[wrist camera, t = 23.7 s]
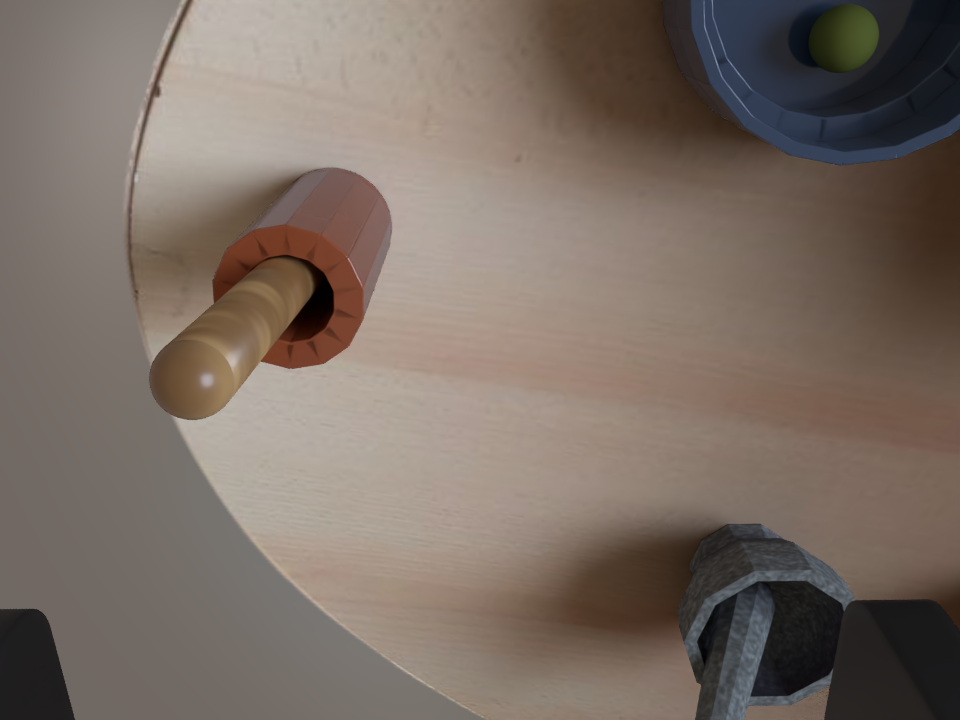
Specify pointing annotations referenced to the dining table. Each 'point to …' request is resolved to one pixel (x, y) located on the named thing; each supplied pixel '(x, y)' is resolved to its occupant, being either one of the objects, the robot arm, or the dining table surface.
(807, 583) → the mortar and pestle
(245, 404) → the dining table surface
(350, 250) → the crock
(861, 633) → the robot arm
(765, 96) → the bowl
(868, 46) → the olive
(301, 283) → the stick
